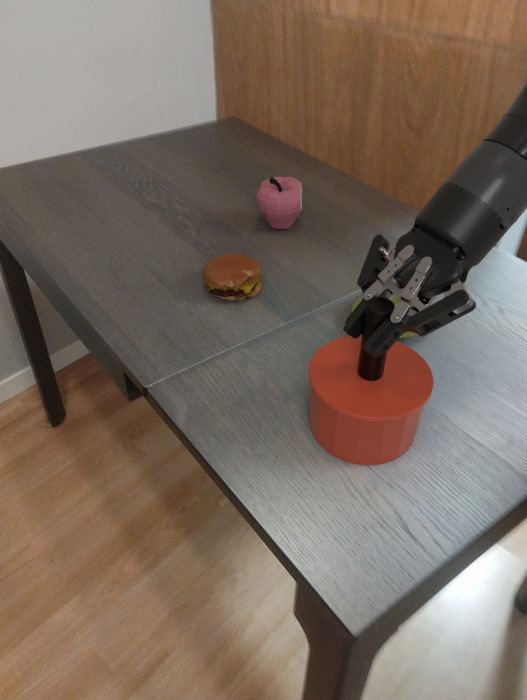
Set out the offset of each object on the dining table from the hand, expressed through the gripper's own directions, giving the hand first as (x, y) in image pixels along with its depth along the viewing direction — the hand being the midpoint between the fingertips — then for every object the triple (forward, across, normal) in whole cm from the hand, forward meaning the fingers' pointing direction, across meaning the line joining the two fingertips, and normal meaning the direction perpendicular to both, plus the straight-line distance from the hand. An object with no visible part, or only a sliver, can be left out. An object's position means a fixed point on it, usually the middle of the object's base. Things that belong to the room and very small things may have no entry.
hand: (359, 343), depth 54 cm
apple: (-4, -49, +22) cm, 54 cm away
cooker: (+8, 0, +11) cm, 13 cm away
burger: (+8, -34, +10) cm, 36 cm away
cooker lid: (+3, 0, +5) cm, 6 cm away
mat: (-3, -14, +22) cm, 26 cm away
